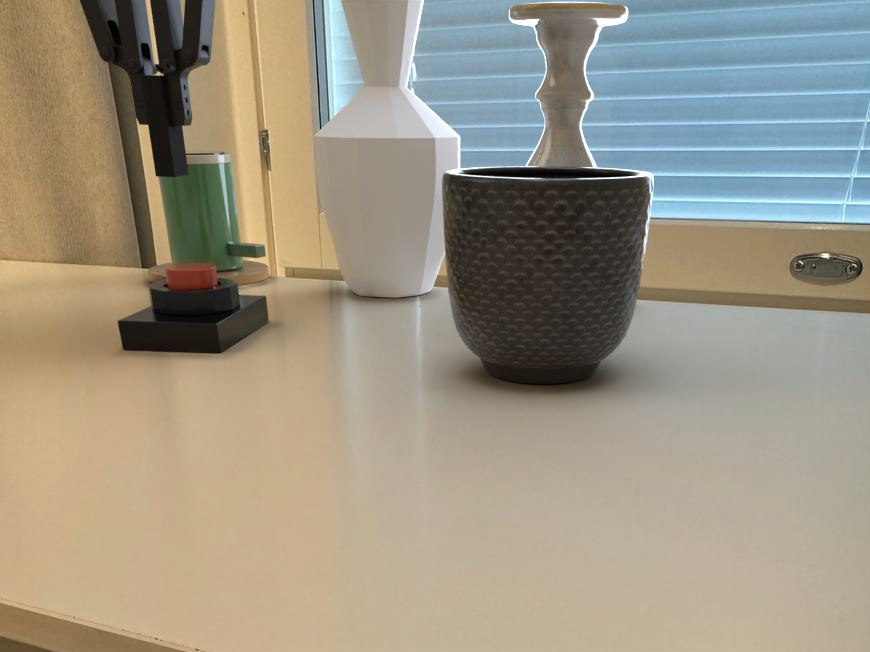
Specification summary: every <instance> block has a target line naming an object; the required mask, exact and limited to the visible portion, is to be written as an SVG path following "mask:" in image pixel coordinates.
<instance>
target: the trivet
mask: <svg viewBox="0 0 870 652" xmlns="http://www.w3.org/2000/svg"><path fill="white" fill-rule="evenodd" d="M169 265H172V262H168V263H162V264H158V265H154V266H152V267H149V268H148V269H147V275H148V280H149V282H150V283H151V284H152V283H155V282H157V281H163V280H166V274H165V267H166V266H169ZM269 277H270V271H269V265H268V264H267V263H263V262H259V261H255V260H245V259H243V266H242V267H239V268H235V269H230V270H221V271H217V278H224V279H230V280H234V281H235V282H236V283H237V284H238V286H244V285H249V284H254V283H258V282H262V281H265V280H268V278H269Z"/></svg>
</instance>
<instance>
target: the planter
mask: <svg viewBox="0 0 870 652" xmlns="http://www.w3.org/2000/svg"><path fill="white" fill-rule="evenodd" d="M654 179H655V178H654V175H653V173H651V172H648V171H643V170H636V169H626V168H625V169H624V168H610V167H597V168H594V167H558V166H526V165H522V166H521V165H520V166H519V165H514V166H481V167H480V166H479V167H478V166H477V167H465V168H460V169H453V170H448V171H445V173H444V174H443V178H442V203H443V225H444V242H445V256H444V258H445V268H446V269H445V270H446V280H447V281H446V282H447V290H448V291H447V292H448V297H449V304H450V309H451V315H452V318H453V322H454V325H455V329H456V331H457V333H458V336H459V337H460V339H461V340H462V342H463V344H464V346H465V347H466V348H467V349H468V350H469V351H470V352H471V353H472V354H474V355H475V356H476V357H478V358H479V359H480V361H481V363H482V366H483V367H484V369H485V370H486V372H487V373H488V374H489V375H491V376H492V377H494V378H498V379H499V380H500V379H501V380H504V381H509V382H514V383H520V384H528V385H529V384H530V385H557V384H567V383H574V382H578V381H582V380H585V379H588V378H589V377H591V376H592V375H593V374H594V373H595V372H596V371H597V369H598V367H599V366H600V364H601V361H602V360H604V359H606V358H608V357H609V356H610V355H611V354H613V353H614V351H616V350H617V348H618V347H619V346H620V345H621V344H622V342H623V341H624V339H625V338H626V336H627V333H628V331H629V329H630V326H631V323H632V321H633V318H634V313H635V310H636V305H637V301H638V298H639V293H640V286H641V281H642V276H643V275H642V274H643V268H644V262H645V255H646V248H647V242H648V235H649V228H650V220H651V212H652V204H653V196H654V186H655V185H654V183H655V182H654Z"/></svg>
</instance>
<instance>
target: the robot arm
mask: <svg viewBox="0 0 870 652" xmlns="http://www.w3.org/2000/svg"><path fill="white" fill-rule="evenodd" d="M79 2H80V5H81V8H82V10H83V13H84V16H85V20H86V22H87V25H88V27H89V30H90V33H91V35H92V38H93V42H94V44H95V47H96V50H97V52H98V54H99V57H100V59H101V60H102V61H103V62H106V63H109V64H112V65H115V66H117V67H119V68H121V69H122V70H124V71H125V73H126V74H127V75H128V79H129V83H130V87H131V88H130V89H131V95H132V101H133V102H132V103H133V108H134V109H133V110H134V116H135V119H136V120H137V123H138V125H140V126H141V125H142V126H148V133H149V141H150V146H151V153H152V160H153V167H154V173H155V177H157V178H158V177H178V176H184V175H189V174H188V166H187V159H186V151H187V150H186V145H185V138H184V129H183V127H187V126H188V127H190V126H192V123H193V111H192V103H191V97H190V89H189V75H190V73H191V72H192V71H194V70H196V69H199V68H200V67H202V66H207V65H209V64H210V62H211V59H212V46H213V36H214V35H213V33H214V23H215V8H216V0H184V11H183V12H184V13H182V7H181V0H149V3H150V10H151V17H152V25H153V31H154V38H155V45H156V52H157V60H158V63H155V58H154V51H153V46H152V37H151V30H150V23H149V15H148V7H147V1H146V0H114V5H113V1H112V0H79ZM158 73H160V74H162V75H160V74H159V75H157V74H158Z"/></svg>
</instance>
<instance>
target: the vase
mask: <svg viewBox="0 0 870 652" xmlns="http://www.w3.org/2000/svg"><path fill="white" fill-rule="evenodd" d="M340 2H341V6H342V9H343V13H344V17H345V20H346V24H347V27H348V30H349V31H348V32H349V35H350V38H351V43H352V46H353V49H354V52H355V56H356V60H357V62H358V67H359V70H360V71H359V72H360V73H361V77H362V82H363V85H364V87H363V88H362V89H361V90H360V91H359V92H358V93H356V95H354V96H353V98H352V99H350V100H349V101H348V102H347V103H346V105H344V106H343V107H342V108H341V109H340V110H339V111H338V112H337V113H336V114H335V115H334V116H333V117H332V118H331V119H329V121H327V122H326V123H325V125H323V126H322V128H320V129H319V130H318V131H317V133H315V134H314V135H313V144H314V145H313V146H314V158H315V170H316V171H315V172H316V179H317V188H318V196H319V201H320V205H321V208H322V211H323V215H324V217H325V221H326V224H327V228H328V231H329V234H330V237H331V241H332V244H333V247H334V251H335V256H336V262H337V266H338V269H339V272H340V274H341V278H342V280H343V281H344V283H345V284H346V285H347V287H348V288H349V289H350V291H351V292H353V293H354V294H357V295H358V296H359V297H371V298H404V297H405V298H407V297H413V296H421V295H424V294H427V293H430V292H431V291H432V290H433V288H434V286H435V283H436V280H437V277H438V275H439V272H440V269H441V266H442V264H443V260H444V258H445V242H444V225H443V203H442V178H443V174H444V173H445V171H448V170H453V169H461V135H460V134H459V133H457V132H456V131H455V130H454V129H453V128H452V127H451V126H450V125H449V124H448V123H446V122H445V121H444V120H443V119H442V118H441V117H440V116H439V115H438V114H437V113H436V112H435V111H434V110H432V109H431V108H430V107H429V106H428V105H427V104H426V103H425V102H424V101H422V99H420V98H419V97H418V96H417V95H416V94H415V93H414V92H412V91H411V89H409V87H408V85H409V79H410V75H411V74H410V73H411V70H412V64H413V59H414V53H415V50H416V49H415V48H416V44H417V38H418V33H419V28H420V23H421V17H422V12H423V7H424V2H425V0H340Z"/></svg>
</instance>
